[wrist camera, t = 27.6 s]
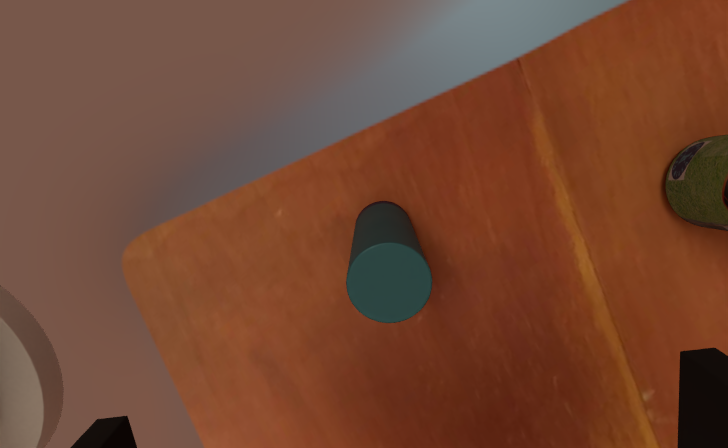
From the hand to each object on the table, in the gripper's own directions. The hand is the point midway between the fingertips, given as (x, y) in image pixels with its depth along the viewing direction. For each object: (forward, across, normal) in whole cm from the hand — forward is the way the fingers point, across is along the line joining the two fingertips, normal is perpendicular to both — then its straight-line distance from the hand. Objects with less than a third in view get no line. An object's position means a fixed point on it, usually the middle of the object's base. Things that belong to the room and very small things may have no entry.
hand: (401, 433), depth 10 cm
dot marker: (+21, 0, 0) cm, 21 cm away
